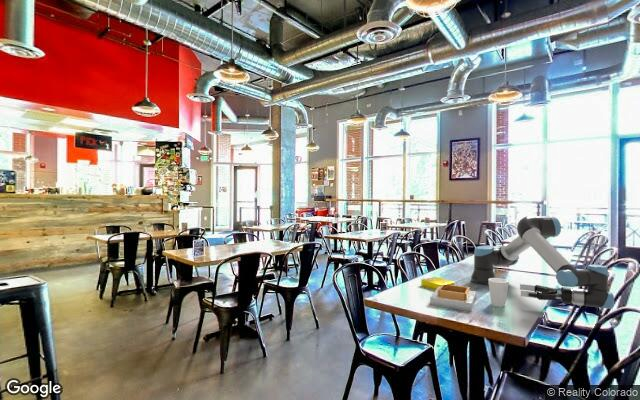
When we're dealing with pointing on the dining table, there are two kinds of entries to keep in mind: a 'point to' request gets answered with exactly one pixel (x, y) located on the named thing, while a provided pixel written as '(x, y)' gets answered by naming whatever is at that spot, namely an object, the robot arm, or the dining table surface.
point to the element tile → (435, 282)
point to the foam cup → (498, 291)
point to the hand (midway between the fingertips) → (520, 289)
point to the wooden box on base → (453, 297)
